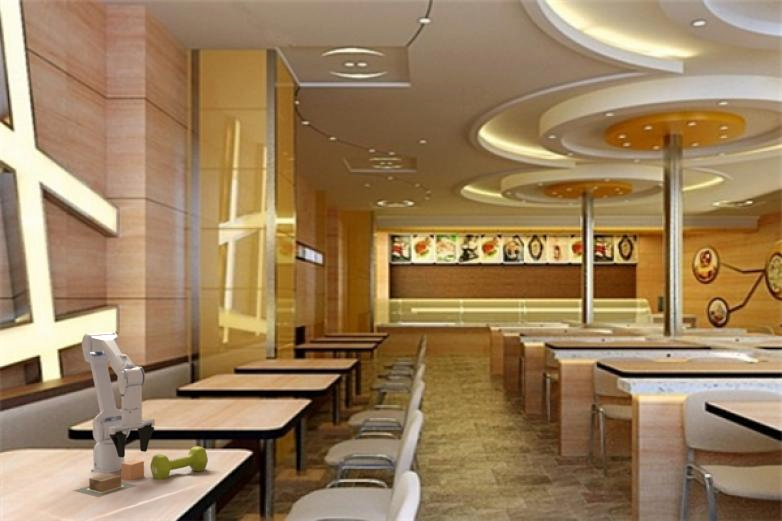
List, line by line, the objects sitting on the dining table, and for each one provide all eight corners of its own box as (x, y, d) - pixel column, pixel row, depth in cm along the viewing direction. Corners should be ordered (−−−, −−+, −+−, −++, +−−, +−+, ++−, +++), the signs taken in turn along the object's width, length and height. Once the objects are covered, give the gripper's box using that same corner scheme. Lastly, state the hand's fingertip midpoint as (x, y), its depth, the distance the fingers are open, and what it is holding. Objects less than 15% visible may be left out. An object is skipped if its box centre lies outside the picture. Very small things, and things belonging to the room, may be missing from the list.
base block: (89, 489, 192) (89, 478, 192) (108, 483, 197) (108, 473, 197) (101, 492, 188) (101, 481, 188) (121, 486, 193) (121, 475, 193)
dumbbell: (160, 483, 198) (160, 458, 198) (147, 478, 203) (147, 454, 204) (210, 471, 210) (210, 447, 210) (197, 467, 215) (196, 444, 215)
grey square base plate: (73, 492, 191) (73, 490, 191) (111, 481, 201) (111, 479, 201) (98, 499, 184) (98, 496, 184) (136, 487, 194) (136, 485, 194)
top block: (121, 480, 203) (121, 463, 203) (134, 476, 206) (134, 459, 207) (131, 482, 200) (130, 464, 200) (144, 478, 204) (143, 461, 204)
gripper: (118, 413, 196) (119, 461, 195) (160, 405, 208) (161, 450, 207) (103, 411, 200) (104, 458, 199) (146, 403, 212) (147, 447, 211)
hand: (132, 454), depth 203 cm, fingers open, 7 cm apart
